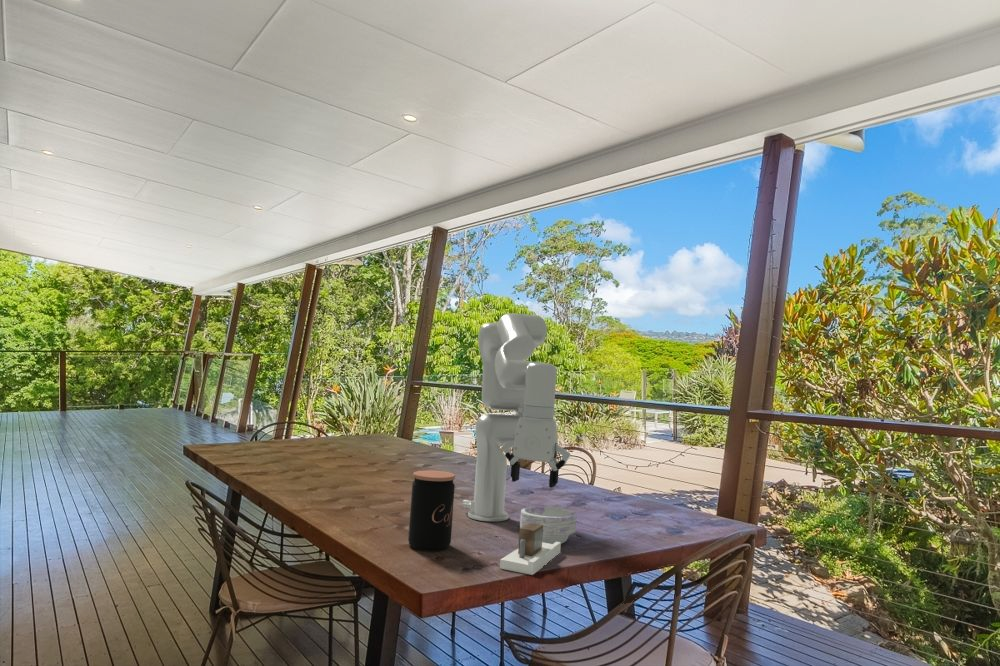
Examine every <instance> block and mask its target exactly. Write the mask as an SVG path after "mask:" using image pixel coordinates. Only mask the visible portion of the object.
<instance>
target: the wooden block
mask: <svg viewBox="0 0 1000 666" xmlns="http://www.w3.org/2000/svg"><path fill="white" fill-rule="evenodd" d="M518 534H519V536H518V548H517V549H518V554H519V553H520V540H521V539H524V540H525V555H526V556H534V555H535V554H536V553H538V552H539V551H540V550H542V536H543V525H542V524H536V523H528V524H526V525H525V526H523V527H521V528H520V527H519V533H518Z"/></svg>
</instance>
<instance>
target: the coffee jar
mask: <svg viewBox="0 0 1000 666" xmlns="http://www.w3.org/2000/svg"><path fill="white" fill-rule="evenodd" d="M412 475H413V478H414V480H413V482H412V483H411V495H410V496H411V498H410V499H411V500H410V512H409V523H408V526H409V527H408V539H407V541H408V543H409V545H410V547H411V548H412V549H414V550H417V551H421V552H441V551H444V550H446V549H448V547H449V546H450V544H451V542H452V531H453V530H452V529H453V527H452V526H453V516H454V515H453V513H454V503H455V502H454V501H455V500H454V499H455V498H454V497H455V489H456V487H455V484H454V480H455V479H456V474H455V473H453V472H449V471H443V470H431V469H429V470H417V471H414V472H413V473H412Z"/></svg>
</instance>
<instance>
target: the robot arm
mask: <svg viewBox="0 0 1000 666" xmlns="http://www.w3.org/2000/svg"><path fill="white" fill-rule="evenodd" d="M497 321H498V322H486V323H484V324H482V326H481V327H480V328H479V331H478V337H477V343H478V349H479V354H480V358H481V360H482V361H481V362H482V379H481V380H482V381H481V382H482V383H481V401H482V405H483V406H484V408H486V409H489V410H497V411H514V413H515V414H505V413H504V414H502V413H500V414H499V413H488V414H487V413H486V414H482V415H481V416H479V417H478V418H477V420H476V423H475V435H476V436H475V437H476V462H475V479H474V490H473V491H474V493H473V500H470V499H469V500H468V499H463V500H462V507H463V508H469V510H468V512H467V516H468V518H470V519H471V520H477V521H480V522H481V521H482V522H489V523H490V522H493V523H494V522H495V523H496V522H504V521H507V520H508V519H509V518H510V516H509V513H508V512H506V511H505V502H506V500H505V499H506V485H507V484H506V482H507V468H508V467H507V466H508V463H509V464H510V477H511V482H512V483H513V482H518V481H519V480H520V471H521V465H520V463H519V462H520V461H521V460H526V461H532V462H533V461H534V462H539V463H548V465H549V466H550V468H551V470H550V471H549V479H548V480H549V481H548V487H549V488H551V489H552V488H554V487H556V485H557V484H558V482H559V471H560V469H562V468H563V467H564V466H565V465H566V464H567V462H568V461H569V459H570V457H571V453H570V452H569V451H567V450H566V449H565V448H564V447H562V446H560V445H559V444H558V428H557V421H556V420H555V419H554V418H555V417H554V415H555V401H556V400H555V399H556V386H557V368H556V366H555V365H554V364H552V363H547V362H542V361H531V360H528V359H529V358H530V357H531V356H532V355H533V354H534V353H535V352H534V351H535V349H537V348H538V347H540V346H541V345H542V344H543V343H544V342H545V340H546V339H547V334H548V326H547V323H546V321H545V320H544V318H543V317H541V316H540V315H534V314H523V313H512V312H511V313H506V314H503V315H502V316H501V317H500V318H499V320H497ZM501 446H502V449H501ZM511 448H512V449H513V450H512V451H513V453H512V452H511ZM502 450H503V451H502ZM558 454H559V455H561V456H562V457H561V459H560V461H558V460H557V456H558Z"/></svg>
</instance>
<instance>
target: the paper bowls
mask: <svg viewBox="0 0 1000 666" xmlns="http://www.w3.org/2000/svg"><path fill="white" fill-rule="evenodd" d="M519 518H520V520H519V521H520V522H519V529H520V528H521V527H523V526H525V525H526V524H528V523H536V524H542V525H543V536H542V542H543V543H549V544H554V543H555V542H561V545H562V544H564V543H566V541H567V540H568V538H569V536H570V535H573V534H575V533H576V531H577V513H576V512H574V511H573V510H571V509H566V508H562V507H557V506H556V507H554V506H543V505H542V506H528V507H524V508H522V509H521V510H520V517H519Z"/></svg>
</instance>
